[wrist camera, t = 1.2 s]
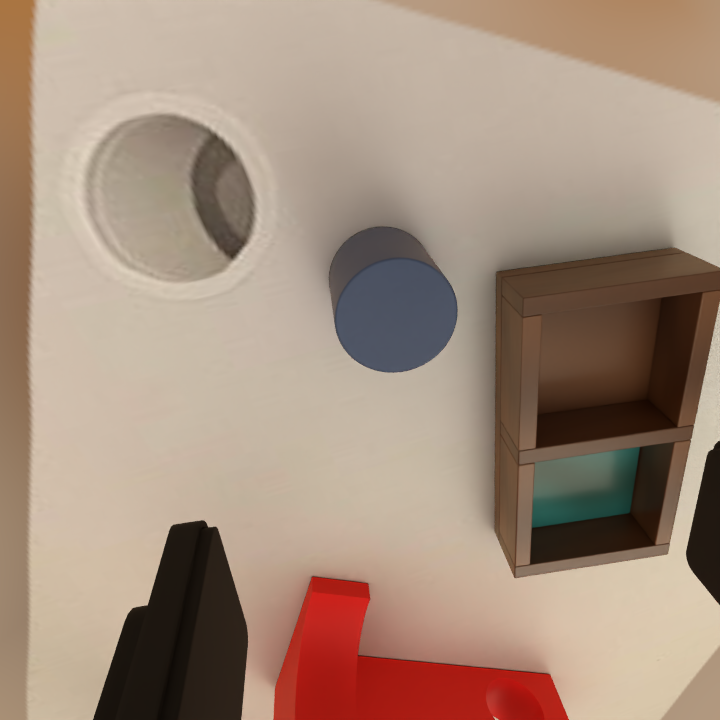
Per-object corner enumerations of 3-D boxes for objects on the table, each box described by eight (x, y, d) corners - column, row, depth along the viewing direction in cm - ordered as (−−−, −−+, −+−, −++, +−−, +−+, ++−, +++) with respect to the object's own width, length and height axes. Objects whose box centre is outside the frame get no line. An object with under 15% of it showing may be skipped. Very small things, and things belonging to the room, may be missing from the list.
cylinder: (322, 233, 22) (326, 267, 18) (428, 219, 23) (456, 249, 19) (336, 331, 24) (342, 381, 20) (433, 318, 25) (459, 364, 21)
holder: (495, 271, 24) (522, 298, 21) (675, 247, 24) (726, 269, 21) (494, 531, 31) (514, 578, 28) (633, 509, 31) (667, 554, 28)
